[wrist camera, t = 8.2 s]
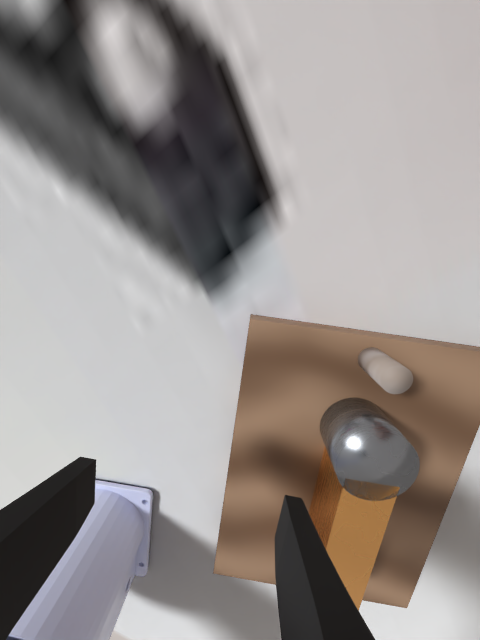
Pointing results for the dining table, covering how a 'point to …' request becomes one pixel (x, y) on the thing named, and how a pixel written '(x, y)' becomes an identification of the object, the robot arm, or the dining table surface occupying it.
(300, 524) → the robot arm
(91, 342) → the dining table surface
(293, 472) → the walnut board
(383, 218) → the dining table surface
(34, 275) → the dining table surface
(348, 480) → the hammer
